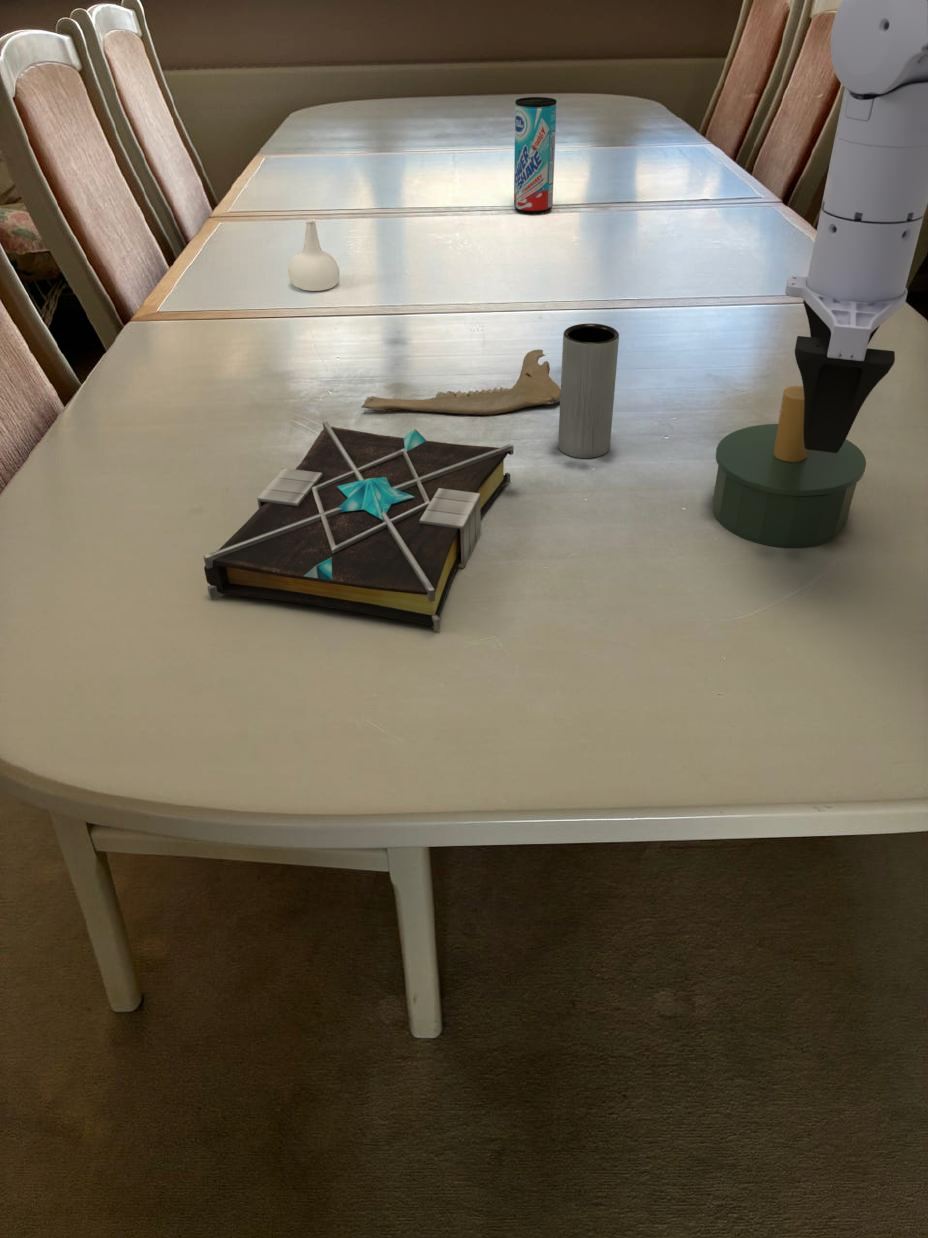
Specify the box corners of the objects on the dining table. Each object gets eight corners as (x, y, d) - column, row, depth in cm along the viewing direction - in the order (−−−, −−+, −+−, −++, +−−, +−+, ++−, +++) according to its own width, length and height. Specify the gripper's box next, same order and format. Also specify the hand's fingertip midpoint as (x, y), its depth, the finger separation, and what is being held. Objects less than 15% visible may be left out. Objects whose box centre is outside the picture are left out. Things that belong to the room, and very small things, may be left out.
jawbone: (590, 402, 93) (592, 383, 91) (400, 456, 85) (400, 436, 84) (539, 363, 99) (541, 345, 97) (358, 411, 91) (357, 391, 90)
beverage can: (506, 208, 148) (507, 99, 138) (539, 203, 150) (542, 95, 141) (526, 217, 143) (529, 105, 134) (559, 212, 146) (564, 101, 136)
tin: (845, 491, 77) (858, 442, 75) (843, 557, 70) (857, 505, 67) (720, 474, 80) (728, 426, 77) (704, 535, 73) (712, 484, 70)
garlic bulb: (313, 274, 124) (306, 209, 119) (350, 282, 121) (345, 216, 116) (279, 288, 120) (270, 221, 115) (317, 297, 117) (310, 228, 112)
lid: (863, 443, 75) (880, 369, 72) (862, 512, 67) (881, 432, 63) (723, 430, 78) (732, 358, 75) (705, 493, 70) (715, 416, 66)
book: (325, 457, 83) (319, 404, 80) (514, 481, 80) (515, 426, 77) (207, 600, 67) (194, 540, 64) (437, 638, 63) (435, 576, 60)
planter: (618, 454, 83) (628, 338, 77) (569, 462, 82) (576, 346, 76) (596, 432, 87) (605, 319, 80) (550, 439, 86) (554, 326, 79)
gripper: (807, 178, 63) (771, 375, 71) (793, 239, 52) (752, 464, 60) (923, 184, 61) (872, 386, 69) (933, 249, 50) (871, 480, 58)
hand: (823, 423), depth 64 cm, fingers open, 7 cm apart
